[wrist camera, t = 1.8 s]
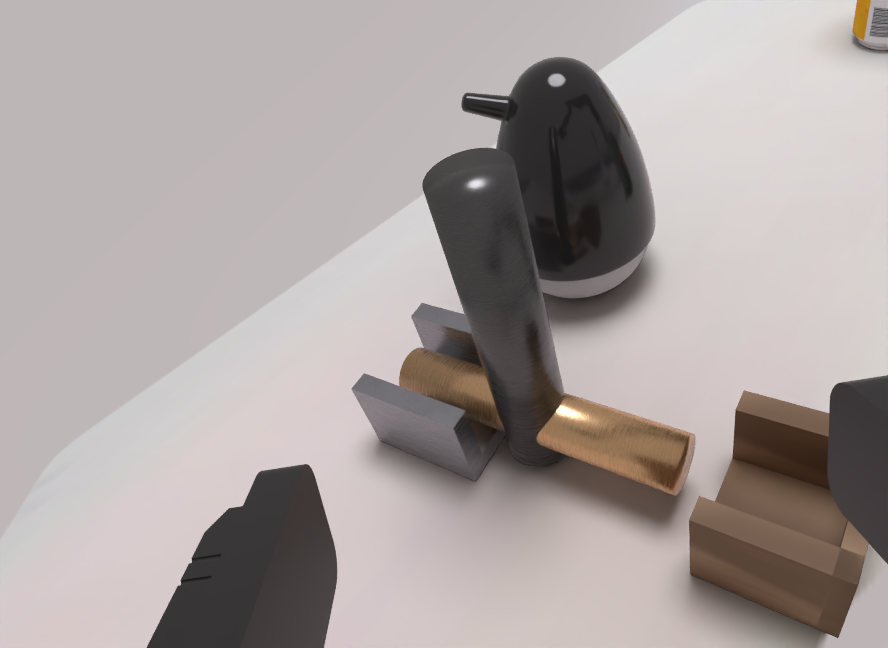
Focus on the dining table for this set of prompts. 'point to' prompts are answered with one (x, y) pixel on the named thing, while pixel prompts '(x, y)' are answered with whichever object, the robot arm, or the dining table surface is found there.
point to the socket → (779, 519)
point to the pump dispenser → (574, 175)
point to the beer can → (872, 23)
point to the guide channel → (431, 404)
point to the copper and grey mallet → (522, 338)
